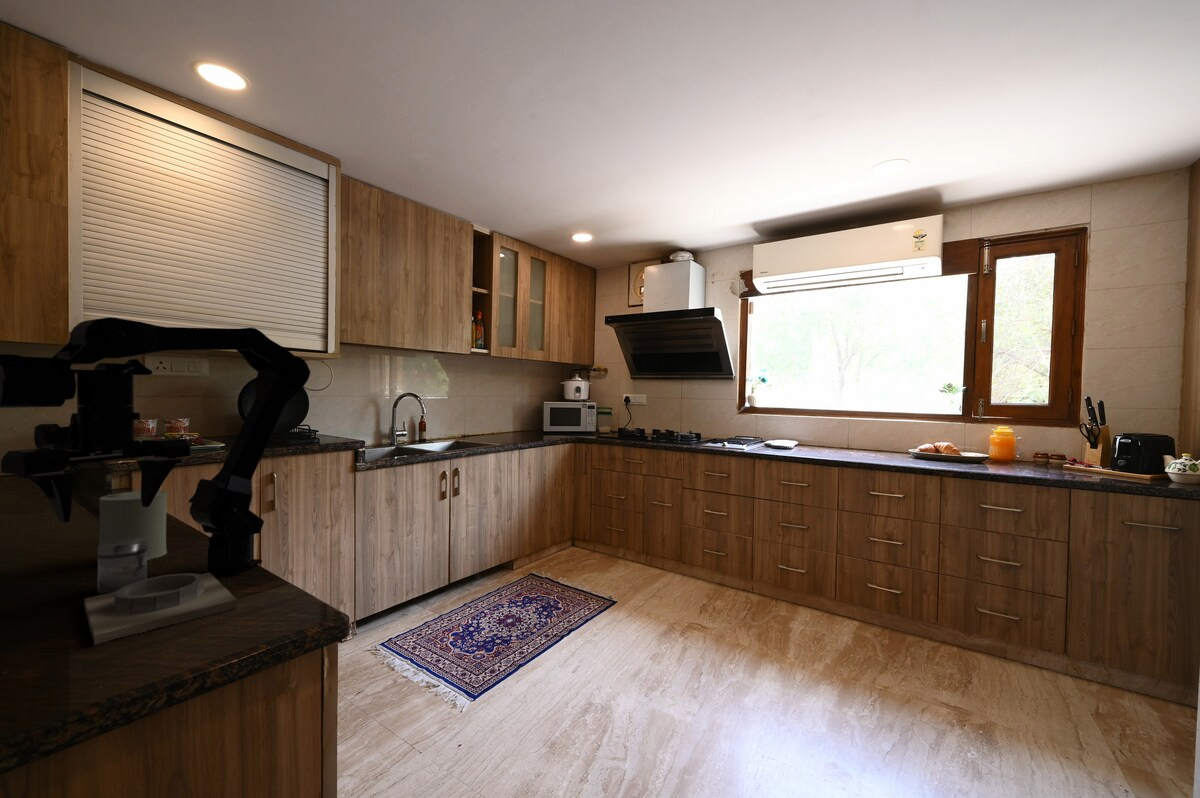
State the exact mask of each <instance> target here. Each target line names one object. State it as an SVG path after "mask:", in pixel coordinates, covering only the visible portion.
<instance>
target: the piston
mask: <svg viewBox="0 0 1200 798" xmlns="http://www.w3.org/2000/svg"><path fill="white" fill-rule="evenodd" d="M147 550H148V546H147V538H142V537H136V538H125V539H118V540H113V541H108V542H105V543H102V544H100V545H99V544H98V545H97V553H96V554H97V562H98V563H97V579H96V581H97V582H96V583H97V585H96V587H97V590H96V592H99V593H113V592H116V591H117V590H119V589H120V588H122V587H124V586H126V585H128V584H131V583H134V582H137V581H141V580H144V579H148V561H147ZM99 593H98V594H99Z"/></svg>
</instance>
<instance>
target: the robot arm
mask: <svg viewBox="0 0 1200 798" xmlns="http://www.w3.org/2000/svg"><path fill="white" fill-rule="evenodd" d="M69 340H70V341H68V342H67V343H66V344H65V345H64V346H63V347H61V349H59V350H58V351H57V352H56V353H55V354H53V356H51V357H40V356H38V357H37V356H23V355H19V354H9V353H8V354H7V353H1V354H0V409H5V408H6V409H10V408H17V409H19V408H60V407H63V405H64V404H65V402H66V400H69V401H70V400H73V399H74V398H75V396H76V412H75V413H74V412H73V413H71V416H70V418H69V419H70V422H69V425H67V426H60V425H59V424H58V423H43V424H42V423H40V424H38V425H35V426H34V431H33V432H34V433H33V434H34V435H33V441H34V444H35V447H36V448H32V449H31V448H29V449H28V448H27V449H19V450H18V449H17V450H16V449H15V450H9V451H7V452H6V453H5V454H4V455H3V457H2V458H1V460H0V473H1V474H10V475H16V477H17V479H22V480H23V479H24V480H29V481H31V482H32V483H34V484H35V485H36V486H37V487H38V488H39V489H40V490H41V492H42V493H43V495H44V496H45V498H46V499H47V500H48V502H49V505H50V506H51V508H52V509H53V512H54V513H55V515H56V516H57V518H58V520H59V521H60V523H64V524H65V523H69V522H70V519H71V515H72V497H73V495H72V494H73V472H68V471H67V472H66V471H65V469H66V468H67V467H69V466H70V465H80V464H87V463H89V464H90V463H95V462H96V463H98V462H105V461H113V460H114V461H116V460H123V459H124V460H125V459H135V458H143V459H137V460H136V463H137V465H138V467H139V469H140V473H141V476H140V478H141V480H140V481H141V483H140V491H141V502H142V506H143V507H149V506H150V504H151V503H152V501H153V499H154V497H155V496H156V494H157V492H158V491H160V488H161V486H162V485H163V483H164V481H165V480H166V478H167V477H168V476H169V474H170V473H171V471H172V470H173V469H174V467H175V466H176V464H181V463H182V462H183V459H180V458H186V457H187V458H188V457H191V455H192V451H191V450H192V448H191V447H192V446H191V445H190V443H189V441H188V440H187V439H186V438H171V437H169V438H168V437H166V438H154V439H153V438H151V439H142V440H136V439H135V421H136V420H141V416H140V415H141V413H140V412H135V406H134V401H135V399H134V398H135V395H134V394H135V393H134V376H150V375H152V374H153V370H152V369H150V368H148V367H146V365H144V364H142V363H141V361H140V360H139V359H137V358H131V359H128V360H127V361H126V362H124V363H118V362H117V363H116V362H115V363H113V362H111V363H110V362H99V361H102V360H108V359H109V360H110V359H121V358H123V359H124V358H128V357H135V356H142V355H148V354H153V353H158V352H164V351H166V352H167V351H168V352H169V351H170V352H171V351H178V352H179V351H236V352H238V353H239V354H240V355H241V357H242V358H243V359H244V360H245V362H246V363H247V365H248V366H249V367H251V368H252V369H253V370H254V371H256V372H257V374H256V378H255V381H254V382H255V383H254V384H255V398H254V400H253V403H252V405H251V407H250V409H249V410H248V411H249V412H248V413H247V416H246V417H245V420H244V422H243V423H242V425H241V428H240V429H239V432H238V434H237V436H236V438H235V439H234V442H233V445H232V446H231V448H230V451H229V452H228V453H227V454H228V455H227V457H226V459H225V461H224V463H223V465H222V467H221V469H220V470H219V472H218V473H217V474H216V475H215V476H213V477H212V478H211V479H207V478H206V479H205V478H201V479H199V481H198V483H197V486H196V489H195V492H194V494H193V495H192V496H191V497H190V499H188V500H187V503H190V504H191V505H190V507H189V515H190V516H191V518H192V520H193V521H194V522H196V523H197V524H199V525H200V526H201V528H202V530H203V532H204V533H205V534H206V533H207V534H208V533H209V534H211V535H210V536H209V537H208V547H207V560H206V561H207V562H206V565H207V567H205V568H203V569H200V570H199V571H198V574H205V573H209V572H210V573H211V574H212V575H237V574H240V573H242V572H244V570H245V571H246V569H247V570H249V569H250V568H253V567H255V566H257V565H259V564H261V563H263V559H261V558H257V559H256V558H254V557H255V555H254V554H255V553H254V551H255V550H254V549H255V535H257V534H260V533H261V531H262V529H263V526H264V523H265V520H264V519H262V518H261V517H260V516H258V515H257V514H256V513H254V512H253V511H251V510H250V506H251V502H252V500H253V483H252V482H253V481H252V480H253V476H254V474H255V472H256V470H257V468H258V465H259V463H260V461H261V459H262V457H263V455H264V453H265V451H266V448H267V445H268V444H269V442H270V440H271V438H272V436H273V432H274V431H275V429H276V426H277V424H278V422H279V419H280V418H281V415H282V414H283V411H284V410H285V407H286V405H287V404H289V402H290V401H292V400H293V399H294V398H295V397H296V396H297V395H298V394H299V393H301V391H302V389H303V388H304V386H305V385H306V383H307V382H308V381H309V379H310V376H311V369H310V368H309V366H308V363H307V362H306V360H304V359H303V358H301V357H299V356H297V355H294V354H293V353H292V352H291V351H290V350H289V349H287V348H285V347H283V346H282V345H281V344H278V343H277V342H275V341H274V340H272V339H271V338H269V337H268V336H267V335H265V334H264V333H263V332H262V331H260V330H259V329H257V328H255V327H243V328H222V327H220V328H219V327H178V326H177V327H175V326H174V327H172V326H170V327H169V326H161V325H155V324H152V323H148V322H143V321H136V320H130V319H125V318H117V317H109V316H108V317H102V318H95V319H87V320H84V321H81V322H79V323H77V324H76V325H75V326H74V327H73V328H72V330H71V331H70V336H69ZM97 362H98V363H97ZM95 363H97V364H96V365H95V367H94V368H93V369H72V368H71V367H72V366H73V365H76V366H77V365H91V364H95ZM241 556H242V557H241ZM244 558H246V559H248V560H250V561H251V562H253V563H254V564H256V565H255V566H254V565H253V564H252V563H251V562H249V561H247V560H246V559H244ZM250 564H252V566H251V565H250Z"/></svg>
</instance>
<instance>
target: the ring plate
mask: <svg viewBox="0 0 1200 798" xmlns="http://www.w3.org/2000/svg"><path fill="white" fill-rule="evenodd" d="M83 601H84V603H83V605H84V606H83V608H84V612H85V614H86V615H87V616H86V618H87V623H88V626H89V630H90V633H91V634H90V635H91V638H92V641H93V645H94V646H98V645H101V644H100V643H102V644H104V643H103V642H105V643H108V642H107V641H109V642H111V641H110V640H113V639H116V638H120V637H124V636H128V635H132V636H134V635H133V634H136V635H138V634H137V633H140V634H142V632H144V633H147V632H149V631H148V630H151V631H153V630H152V629H155V630H157V629H156V628H158V627H163V628H165V627H164V626H166V627H168V626H167V625H170V626H172V625H171V624H174V625H177V623H178V624H181V623H180V622H182V623H185V622H189V621H192V619H193V620H197V619H201V618H204V616H205V617H208V616H212V615H216V614H220V613H223V612H227V611H230V609H231V610H235V609H237V608H238V599H237V598H236V597H235V596H234V595H233V594H232V593H231V592H230V591H229V590H228V589H227V588H226V587H225V586H224V585H223V584H222V583H221V582H220V581H219V580H218V579H217V578H216V577H215V576H214V574H211V573H210V572H209V573H205V574H199V573H190V572H187V573H186V572H185V573H184V572H183V573H171V574H164V575H163V574H162V575H158V576H153V577H149V578H148V577H147V579H144V580H141V581H137V582H134V583H131V584H128V585H126V586H124V587H122V588H120V589H119V590H117V591H116V592H113V593H109V594H99V595H94V596H91V597H86V598H84V600H83ZM234 608H235V609H234ZM196 618H197V619H196ZM184 621H185V622H184ZM146 631H147V632H146ZM128 637H129V636H128ZM124 638H125V637H124ZM113 641H114V640H113ZM97 644H98V645H97Z"/></svg>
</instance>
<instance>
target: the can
mask: <svg viewBox="0 0 1200 798" xmlns="http://www.w3.org/2000/svg"><path fill="white" fill-rule="evenodd" d="M98 502H99V537H98V539H99V540H98V542H99V544H98V545H100V544H102V543H105V542H108V541H113V540H118V539H125V538H136V537H142V538H147V546H148V550H147V560H149V561H152V560H151V559H153V560H155V559H154V558H156V559H159V558H160V557H161V558H162V557H163V556H165V555H166V554H167V553H168V550H167V506H168V505H167V504H168V503H167V502H168V492H167V491H164V490H158V492H157V494H156V496H155V497H154V499H153V501H152V503H151V504H150V506H149V507H143V506H142V502H141V490H139V491H137V490H136V491H128V492H126V491H124V492H119V493H113V494H109V495H104V496H101V497H99V499H98ZM158 557H159V558H158ZM97 564H98V561H97Z"/></svg>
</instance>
